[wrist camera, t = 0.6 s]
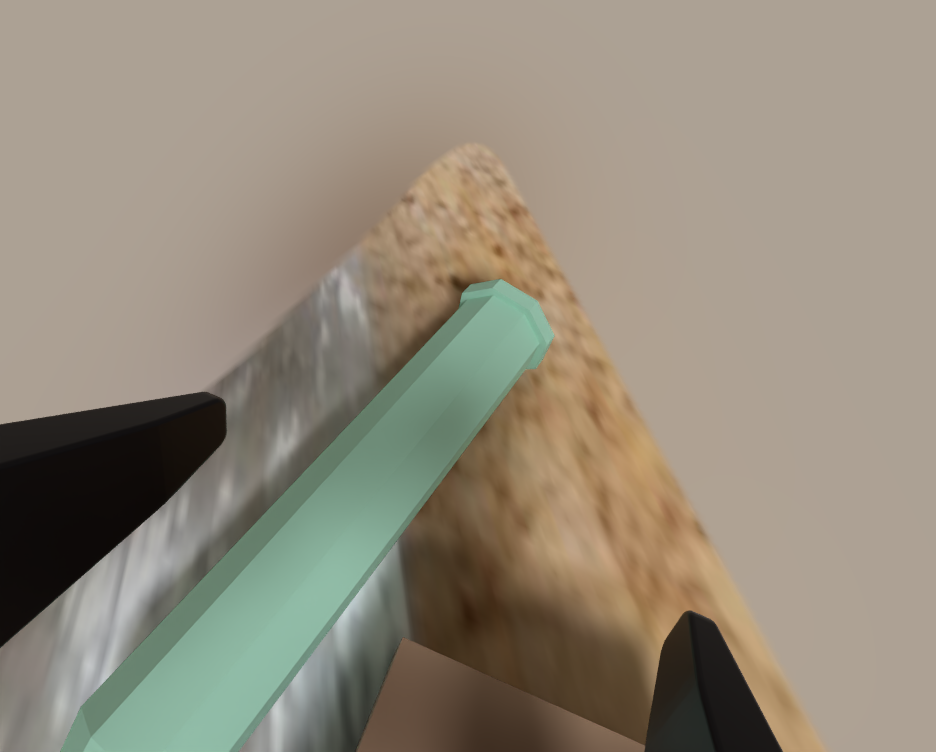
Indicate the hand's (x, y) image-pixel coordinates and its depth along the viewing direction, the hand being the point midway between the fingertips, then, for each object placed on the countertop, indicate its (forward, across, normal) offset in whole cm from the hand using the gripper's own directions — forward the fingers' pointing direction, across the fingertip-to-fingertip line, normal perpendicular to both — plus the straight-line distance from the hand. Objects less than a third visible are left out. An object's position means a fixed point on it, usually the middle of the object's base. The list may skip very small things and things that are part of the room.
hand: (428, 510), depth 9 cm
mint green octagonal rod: (+10, +6, +12) cm, 17 cm away
